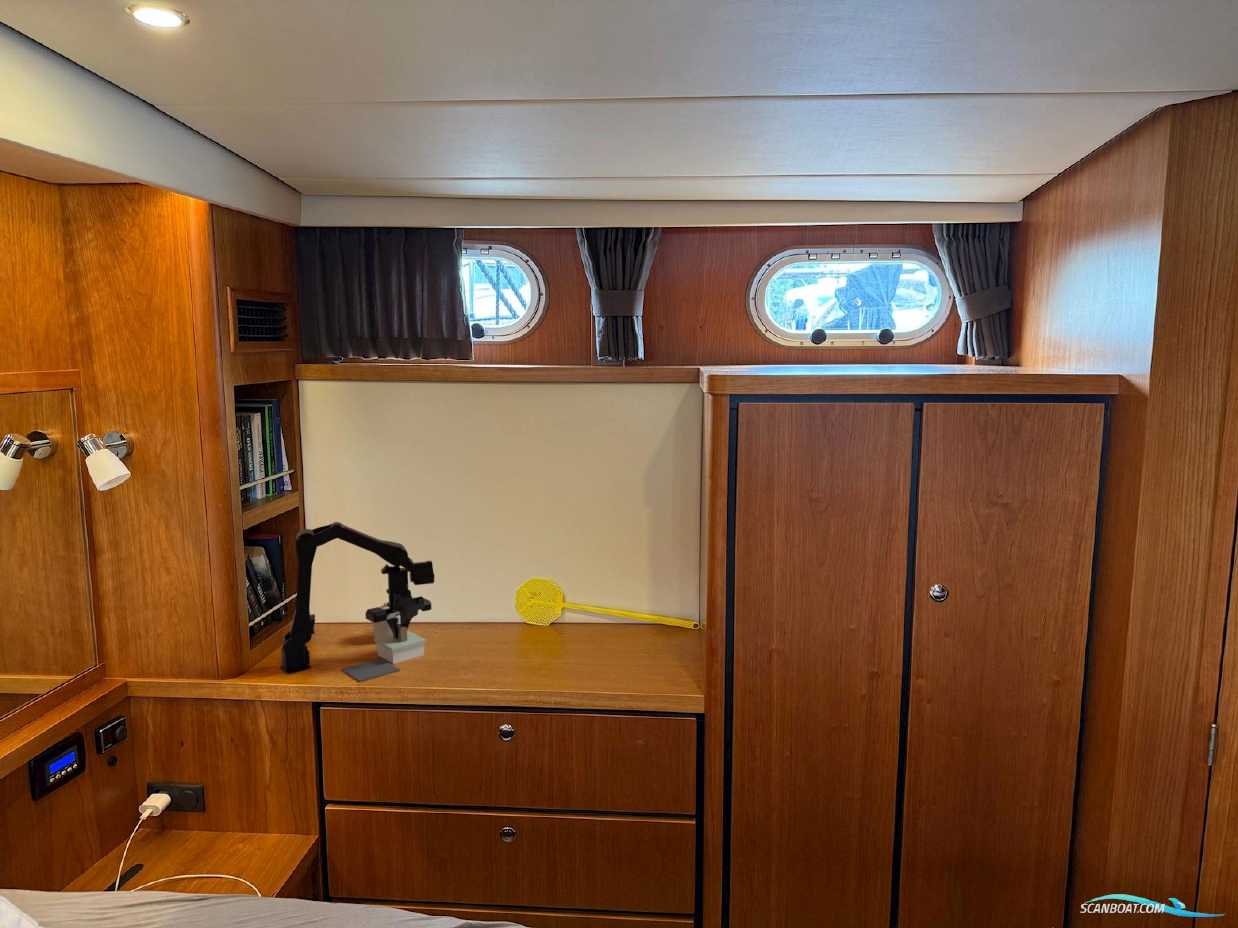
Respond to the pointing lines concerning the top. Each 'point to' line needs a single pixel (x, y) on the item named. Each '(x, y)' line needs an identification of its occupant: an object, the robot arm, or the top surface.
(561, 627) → the top surface
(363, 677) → the mat
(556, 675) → the top surface
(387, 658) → the dish
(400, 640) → the lid
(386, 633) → the teacup with lid
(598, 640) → the top surface
